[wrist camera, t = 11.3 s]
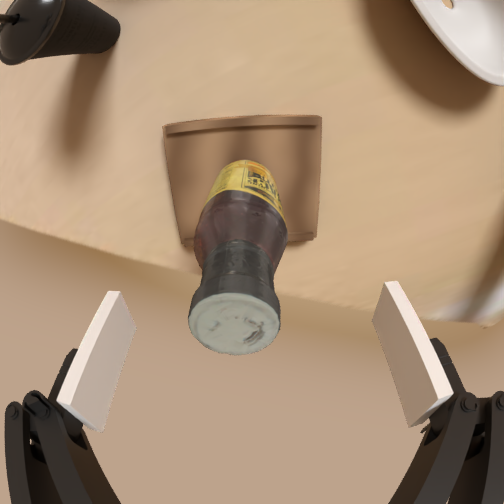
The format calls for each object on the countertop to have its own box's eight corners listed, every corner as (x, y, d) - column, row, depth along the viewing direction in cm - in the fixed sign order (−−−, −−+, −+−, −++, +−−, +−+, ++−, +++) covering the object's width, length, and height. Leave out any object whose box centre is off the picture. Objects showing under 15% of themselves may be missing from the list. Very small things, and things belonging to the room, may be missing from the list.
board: (317, 115, 26) (323, 117, 24) (312, 229, 34) (317, 240, 31) (167, 124, 26) (160, 127, 24) (184, 235, 34) (180, 246, 32)
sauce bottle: (284, 196, 29) (329, 352, 12) (232, 219, 31) (218, 383, 14) (257, 143, 26) (279, 253, 9) (203, 169, 27) (139, 309, 11)
